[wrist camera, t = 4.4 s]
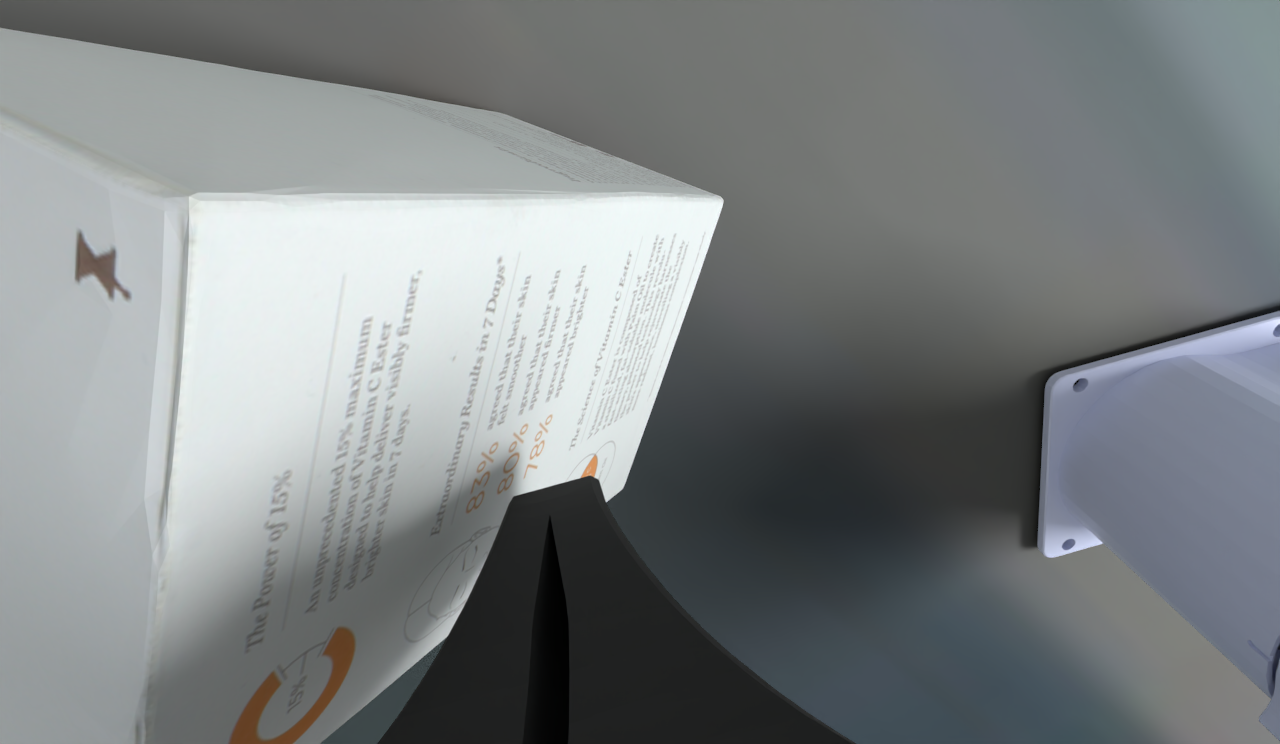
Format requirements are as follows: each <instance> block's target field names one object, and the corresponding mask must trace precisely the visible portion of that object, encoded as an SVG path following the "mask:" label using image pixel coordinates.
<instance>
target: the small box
mask: <svg viewBox="0 0 1280 744" xmlns="http://www.w3.org/2000/svg"><path fill="white" fill-rule="evenodd" d="M722 206H723V199H722V198H721V196H718V195H715V194H713V193H710V192H707V191H704V190H702V189H699V188H697V187H694V186H691V185H689V184H686V183H684V182H681V181H678V180H676V179H673V178H670V177H668V176H665V175H663V174H660V173H657V172H655V171H652V170H649V169H647V168H644V167H641V166H639V165H636V164H634V163H631V162H628V161H626V160H623V159H620V158H618V157H615V156H613V155H610V154H607V153H605V152H602V151H599V150H597V149H594V148H592V147H589V146H586V145H584V144H581V143H579V142H576V141H573V140H571V139H568V138H566V137H563V136H561V135H558V134H555V133H553V132H550V131H548V130H545V129H543V128H540V127H537V126H535V125H532V124H529V123H527V122H524V121H521V120H519V119H516V118H514V117H511V116H508V115H506V114H503V113H499V112H494V111H488V110H483V109H475V108H470V107H465V106H460V105H454V104H448V103H442V102H437V101H431V100H426V99H421V98H415V97H411V96H406V95H400V94H394V93H388V92H383V91H377V90H371V89H365V88H359V87H353V86H347V85H340V84H334V83H328V82H321V81H315V80H308V79H302V78H296V77H290V76H284V75H278V74H271V73H265V72H259V71H253V70H247V69H242V68H236V67H231V66H226V65H221V64H215V63H208V62H202V61H197V60H191V59H185V58H179V57H173V56H167V55H161V54H155V53H149V52H143V51H136V50H130V49H124V48H118V47H112V46H106V45H101V44H95V43H89V42H83V41H78V40H72V39H65V38H59V37H53V36H47V35H40V34H34V33H28V32H22V31H16V30H10V29H4V28H0V744H320V743H321V742H322V741H323V740H325V739H326V738H327V737H328V736H329V735H331V734H332V733H333V732H334V731H336V730H337V729H338V728H339V727H340V726H342V725H343V724H344V723H345V722H346V721H348V720H349V719H350V718H351V717H352V716H354V715H355V714H356V713H357V712H358V711H360V710H361V709H362V708H363V707H364V706H366V705H367V704H368V703H369V702H370V701H372V700H373V699H374V698H375V697H376V696H378V695H379V694H380V693H381V692H382V691H384V690H385V689H386V688H387V687H388V686H389V685H391V684H392V683H393V682H394V681H395V680H397V679H398V678H399V677H400V676H401V675H402V674H404V673H405V672H406V671H407V670H408V669H410V668H411V667H412V666H413V665H414V664H415V663H417V662H418V661H419V660H420V659H421V658H423V657H424V656H425V655H426V654H427V653H428V652H430V651H431V650H432V649H433V648H434V647H436V646H437V645H438V644H439V643H440V642H441V641H443V640H444V639H445V638H446V637H447V636H448V635H449V633H450V631H451V629H452V627H453V626H454V624H455V622H456V620H457V618H458V616H459V614H460V613H461V611H462V609H463V607H464V605H465V603H466V601H467V599H468V597H469V595H470V593H471V591H472V589H473V587H474V584H475V582H476V580H477V578H478V576H479V574H480V572H481V570H482V567H483V565H484V563H485V561H486V559H487V556H488V554H489V552H490V550H491V547H492V545H493V543H494V540H495V538H496V535H497V533H498V530H499V528H500V525H501V523H502V520H503V518H504V515H505V513H506V510H507V507H508V505H509V503H510V501H511V500H512V498H513V497H514V496H517V495H520V494H524V493H528V492H531V491H535V490H539V489H542V488H546V487H550V486H553V485H557V484H561V483H564V482H568V481H571V480H575V479H579V478H582V477H586V476H590V475H591V476H593V477H595V478H597V479H599V481H600V485H601V488H602V491H603V494H604V498H605V501H606V502H607V501H609V500H610V499H611V498H612V497H614V496H615V495H616V494H617V493H618V492H620V491H621V490H622V489H623V487H624V485H625V483H626V480H627V477H628V474H629V471H630V469H631V466H632V463H633V460H634V457H635V455H636V452H637V449H638V446H639V444H640V441H641V438H642V435H643V433H644V430H645V427H646V424H647V421H648V419H649V416H650V413H651V410H652V407H653V405H654V402H655V399H656V396H657V393H658V391H659V388H660V385H661V382H662V379H663V376H664V374H665V371H666V368H667V365H668V362H669V359H670V356H671V353H672V351H673V348H674V345H675V342H676V339H677V336H678V334H679V331H680V328H681V325H682V322H683V320H684V317H685V314H686V311H687V308H688V305H689V302H690V300H691V297H692V294H693V291H694V288H695V285H696V282H697V280H698V277H699V274H700V271H701V268H702V265H703V262H704V259H705V256H706V253H707V250H708V247H709V244H710V241H711V238H712V235H713V232H714V229H715V227H716V224H717V221H718V218H719V215H720V212H721V209H722Z"/></svg>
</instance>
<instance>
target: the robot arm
mask: <svg viewBox="0 0 1280 744" xmlns="http://www.w3.org/2000/svg"><path fill="white" fill-rule="evenodd" d="M1078 379H1079V382H1078V383H1077V384H1076V385H1074V383H1075V382H1076V381H1077V380H1078ZM1073 385H1074V386H1073ZM1099 544H1105V545H1106V546H1107V547H1108V548H1109V549H1110V550H1111V551H1112V552H1113V553H1114V554H1115V555H1116V556H1117V557H1119V558H1120V559H1121V560H1122V561H1123V562H1124V563H1125V564H1126V565H1127V566H1128V567H1129V568H1130V569H1132V570H1133V571H1134V572H1135V573H1136V574H1137V575H1138V576H1139V577H1140V578H1141V579H1142V580H1143V581H1144V582H1146V583H1147V584H1148V585H1149V586H1150V587H1151V588H1152V589H1153V590H1154V591H1155V592H1156V593H1157V594H1158V595H1160V596H1161V597H1162V598H1163V599H1164V600H1165V601H1166V602H1167V603H1168V604H1169V605H1170V606H1171V607H1172V608H1174V609H1175V610H1176V611H1177V612H1178V613H1179V614H1180V615H1181V616H1182V617H1183V618H1184V619H1185V620H1186V621H1188V622H1189V623H1190V624H1191V625H1192V626H1193V627H1194V628H1195V629H1196V630H1197V631H1198V632H1199V633H1201V634H1202V635H1203V636H1204V637H1205V638H1206V639H1207V640H1208V641H1209V642H1210V643H1211V644H1212V645H1213V646H1215V647H1216V648H1217V649H1218V650H1219V651H1220V652H1221V653H1222V654H1223V655H1224V656H1225V657H1226V658H1227V659H1229V660H1230V661H1231V662H1232V663H1233V664H1234V665H1235V666H1236V667H1237V668H1238V669H1239V670H1240V671H1241V672H1243V673H1244V674H1245V675H1246V676H1247V677H1248V678H1249V679H1250V680H1251V681H1252V682H1253V683H1254V684H1255V685H1257V686H1258V687H1259V688H1260V689H1261V690H1262V691H1263V692H1264V693H1265V694H1266V695H1267V696H1268V697H1269V698H1271V701H1270V703H1269V704H1268V706H1267V708H1266V709H1265V710H1264V712H1263V713H1262V714H1261V715H1260V717H1259V721H1260V722H1261V723H1262V724H1263V725H1264V726H1265V727H1266V728H1267V729H1268V730H1269V731H1270V732H1271V733H1272V734H1273V735H1274V736H1275V737H1276V738H1277V739H1278V740H1279V741H1280V311H1277V312H1273V313H1270V314H1266V315H1262V316H1259V317H1255V318H1252V319H1248V320H1244V321H1241V322H1237V323H1233V324H1230V325H1226V326H1223V327H1219V328H1215V329H1212V330H1208V331H1204V332H1201V333H1197V334H1194V335H1190V336H1186V337H1183V338H1179V339H1175V340H1172V341H1168V342H1165V343H1161V344H1157V345H1154V346H1150V347H1146V348H1143V349H1139V350H1136V351H1132V352H1128V353H1125V354H1121V355H1117V356H1114V357H1110V358H1106V359H1103V360H1099V361H1096V362H1092V363H1088V364H1085V365H1081V366H1077V367H1074V368H1070V369H1067V370H1063V371H1060V372H1057V373H1055V374H1054V375H1052V376H1051V377H1050V378H1049V380H1048V381H1047V383H1046V386H1045V397H1044V418H1043V439H1042V459H1041V480H1040V501H1039V522H1038V543H1037V546H1038V549H1039V550H1040V552H1041V553H1042V554H1043V555H1044V556H1045V557H1049V558H1052V557H1057V556H1061V555H1064V554H1068V553H1071V552H1075V551H1078V550H1082V549H1085V548H1089V547H1092V546H1096V545H1099ZM378 744H856V743H854V742H853V741H851V740H849V739H848V738H846V737H845V736H843V735H841V734H840V733H838V732H837V731H835V730H833V729H832V728H830V727H829V726H827V725H826V724H824V723H823V722H821V721H820V720H818V719H817V718H815V717H813V716H812V715H810V714H809V713H808V712H806V711H805V710H803V709H802V708H801V707H799V706H798V705H796V704H795V703H794V702H792V701H791V700H789V699H788V698H786V697H785V696H784V695H782V694H781V693H779V692H778V691H777V690H775V689H774V688H773V687H772V686H770V685H769V684H768V683H767V682H765V681H764V680H763V679H762V678H760V677H759V676H758V675H757V674H755V673H754V672H753V671H752V670H750V669H749V668H748V667H747V666H745V665H744V664H743V663H742V662H740V661H739V660H738V659H737V658H736V657H734V656H733V655H732V654H731V653H729V652H728V651H727V650H726V649H725V648H724V647H723V646H722V645H720V644H719V643H718V642H717V641H716V640H715V639H714V638H713V637H712V636H711V635H710V634H709V633H707V632H706V631H705V630H704V629H703V628H702V627H701V626H700V625H699V624H698V623H697V622H696V621H695V620H694V619H693V618H692V617H691V616H690V615H689V614H688V613H687V612H686V611H685V610H684V609H683V608H682V607H681V606H680V604H679V603H678V602H677V601H676V600H675V599H674V598H673V597H672V596H671V595H670V593H669V592H668V591H667V590H666V589H665V588H664V586H663V585H662V584H661V583H660V582H659V580H658V579H657V578H656V577H655V576H654V575H653V573H652V572H651V571H650V570H649V568H648V567H647V566H646V564H645V563H644V562H643V561H642V559H641V558H640V557H639V555H638V554H637V552H636V551H635V549H634V548H633V547H632V545H631V544H630V542H629V541H628V539H627V538H626V537H625V535H624V534H623V532H622V530H621V529H620V527H619V526H618V524H617V522H616V521H615V519H614V517H613V515H612V513H611V512H610V510H609V508H608V506H607V504H606V501H605V498H604V494H603V491H602V488H601V485H600V481H599V479H597V478H595V477H593V476H591V475H590V476H586V477H582V478H579V479H575V480H571V481H568V482H564V483H561V484H557V485H553V486H550V487H546V488H542V489H539V490H535V491H531V492H528V493H524V494H520V495H517V496H514V497H513V498H512V500H511V501H510V503H509V505H508V507H507V510H506V513H505V515H504V518H503V520H502V523H501V525H500V528H499V530H498V533H497V535H496V538H495V540H494V543H493V545H492V547H491V550H490V552H489V554H488V556H487V559H486V561H485V563H484V565H483V567H482V570H481V572H480V574H479V576H478V578H477V580H476V582H475V584H474V587H473V589H472V591H471V593H470V595H469V597H468V599H467V601H466V603H465V605H464V607H463V609H462V611H461V613H460V614H459V616H458V618H457V620H456V622H455V624H454V626H453V627H452V629H451V631H450V633H449V635H448V637H447V638H446V640H445V642H444V644H443V646H442V648H441V649H440V651H439V653H438V655H437V656H436V658H435V660H434V661H433V663H432V665H431V666H430V668H429V670H428V671H427V673H426V674H425V676H424V678H423V679H422V681H421V682H420V684H419V685H418V687H417V688H416V690H415V691H414V693H413V694H412V696H411V698H410V699H409V701H408V702H407V704H406V705H405V707H404V708H403V710H402V711H401V712H400V714H399V715H398V717H397V718H396V719H395V721H394V722H393V724H392V725H391V726H390V728H389V729H388V730H387V732H386V733H385V734H384V736H383V737H382V738H381V740H380V741H379V742H378Z"/></svg>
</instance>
